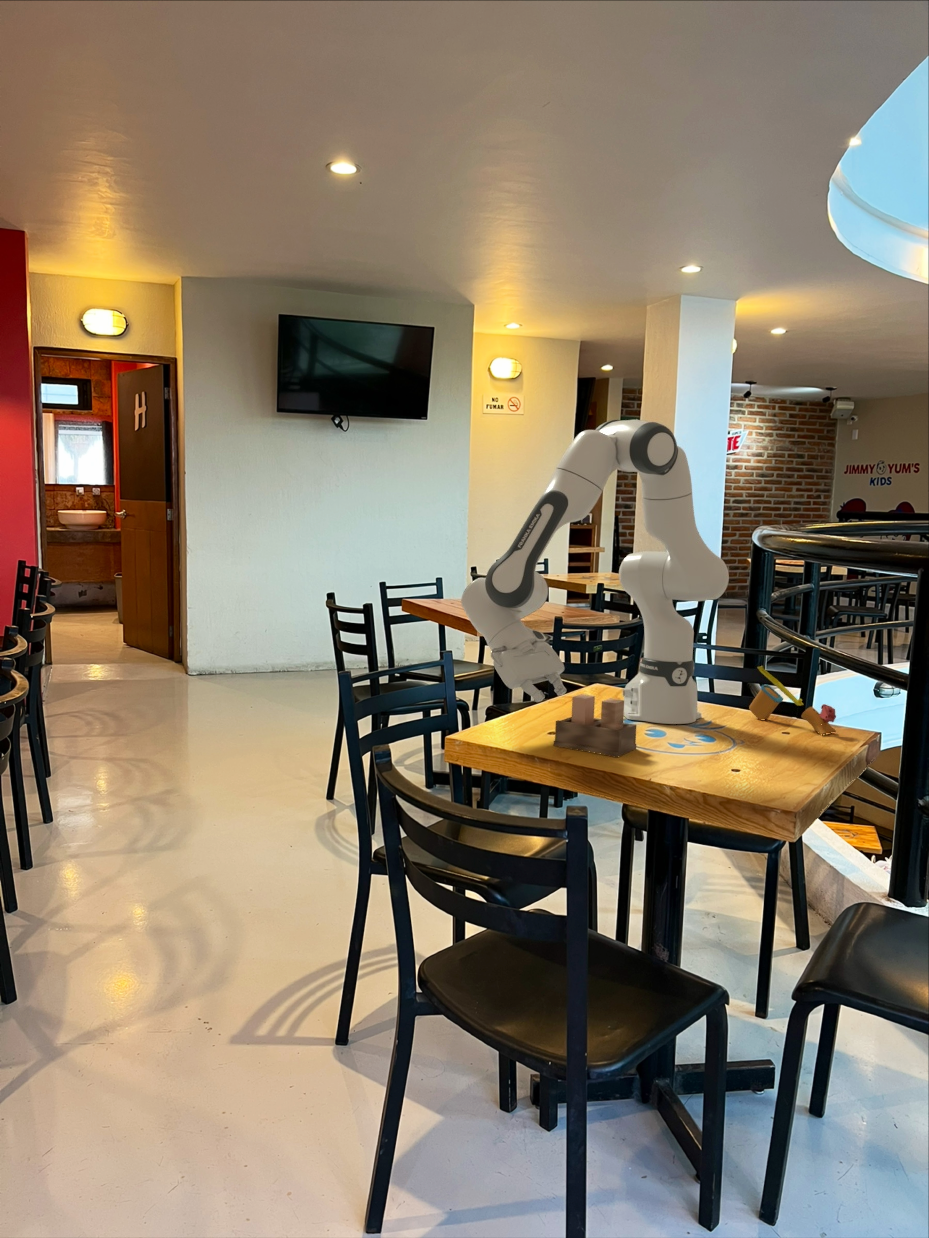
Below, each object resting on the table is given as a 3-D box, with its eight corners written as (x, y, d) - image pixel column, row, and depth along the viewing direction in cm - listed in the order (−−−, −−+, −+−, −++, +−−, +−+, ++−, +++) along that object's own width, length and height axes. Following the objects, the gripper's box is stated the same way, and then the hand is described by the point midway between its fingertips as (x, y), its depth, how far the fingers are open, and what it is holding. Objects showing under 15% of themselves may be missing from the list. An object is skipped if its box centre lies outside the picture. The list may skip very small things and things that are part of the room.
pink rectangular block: (570, 740, 184) (572, 696, 183) (579, 737, 187) (581, 694, 186) (583, 742, 182) (585, 698, 181) (592, 739, 186) (594, 696, 185)
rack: (553, 745, 183) (555, 697, 182) (574, 737, 191) (576, 691, 190) (617, 757, 176) (619, 706, 175) (636, 748, 183) (638, 699, 182)
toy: (745, 697, 222) (776, 650, 214) (812, 762, 208) (847, 715, 200) (731, 699, 219) (762, 652, 211) (798, 766, 205) (833, 718, 197)
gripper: (497, 639, 182) (537, 694, 178) (546, 632, 199) (584, 681, 195) (477, 659, 185) (517, 713, 181) (527, 650, 202) (565, 699, 197)
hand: (552, 696), depth 188 cm, fingers open, 8 cm apart
